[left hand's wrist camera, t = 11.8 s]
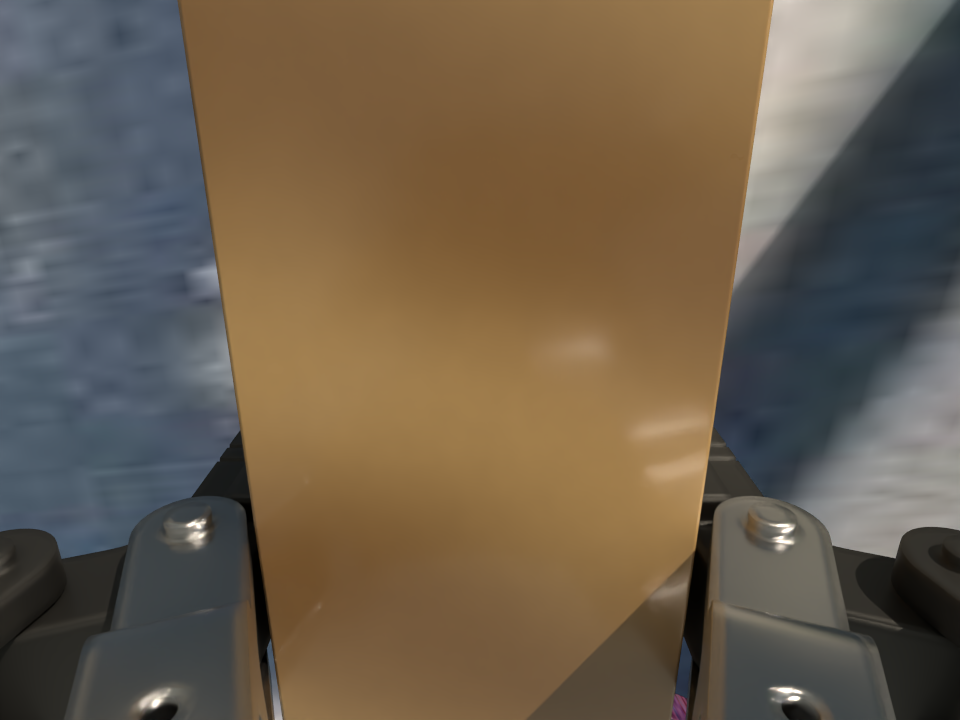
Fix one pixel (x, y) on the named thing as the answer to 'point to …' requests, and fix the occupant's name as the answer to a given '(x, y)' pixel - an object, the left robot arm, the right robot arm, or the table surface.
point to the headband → (679, 708)
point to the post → (476, 334)
